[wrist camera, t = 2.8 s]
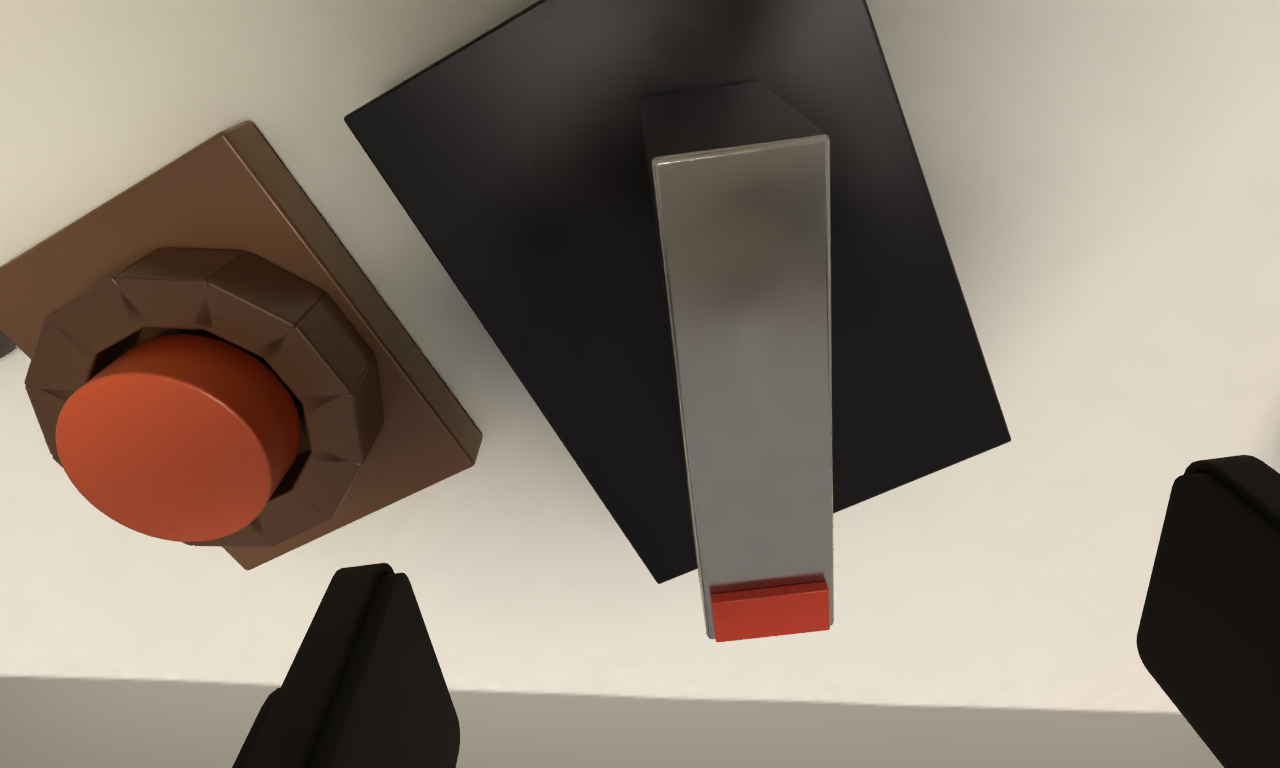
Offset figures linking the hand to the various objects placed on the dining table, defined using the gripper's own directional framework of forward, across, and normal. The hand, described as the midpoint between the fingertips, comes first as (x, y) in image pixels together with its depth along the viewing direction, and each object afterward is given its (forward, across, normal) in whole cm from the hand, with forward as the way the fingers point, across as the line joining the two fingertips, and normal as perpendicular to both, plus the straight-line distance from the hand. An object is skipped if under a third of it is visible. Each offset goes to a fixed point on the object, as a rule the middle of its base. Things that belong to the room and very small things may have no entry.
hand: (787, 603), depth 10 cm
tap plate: (+12, 0, -1) cm, 12 cm away
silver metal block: (+9, 0, -1) cm, 9 cm away
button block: (+12, +12, +1) cm, 17 cm away
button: (+9, +12, +1) cm, 15 cm away
